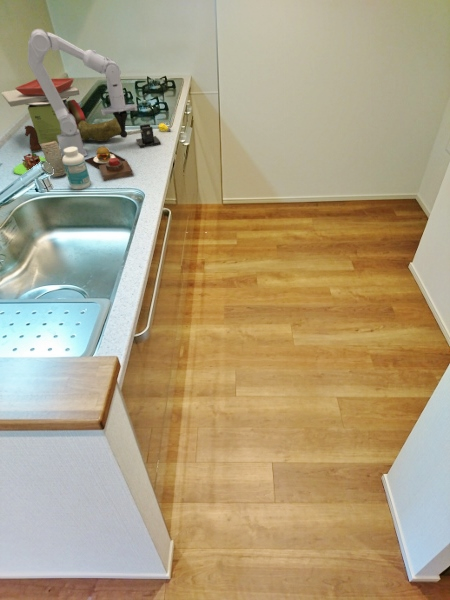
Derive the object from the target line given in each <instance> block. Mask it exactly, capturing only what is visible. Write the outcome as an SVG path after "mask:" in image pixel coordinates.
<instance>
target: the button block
mask: <svg viewBox="0 0 450 600" xmlns="http://www.w3.org/2000/svg"><path fill="white" fill-rule="evenodd" d="M99 169H100V170H99ZM99 169H98V170H99V172H100V174H101V178H102V179H103V182H107V181H112V180H117V179H118V180H119V179H123V178H127V177H133V176H134V172H133V169H132V167H131V166H130V164H129V162H128V160H125V161H121V160H119V164H118V165H114V166H111V165H109V161H108V162H106V164H104V165H99Z"/></svg>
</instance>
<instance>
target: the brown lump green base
mask: <svg viewBox="0 0 450 600" xmlns="http://www.w3.org/2000/svg"><path fill="white" fill-rule="evenodd" d="M21 161H22V162H21V163H19V164H18V165H16V166H15V167H14V168H13V173H14V174H15V175H19V176H22V174H24V173H25V172H27V171H28V170H29V169H31V168H32V167H33V166H35V165H36V164H38V163H39V162H40V161H46V159H45V156H40V155H37V154H36V153H35V152H31V153H28V154H26V155H24V156H23V159H21Z"/></svg>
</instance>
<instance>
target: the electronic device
mask: <svg viewBox="0 0 450 600" xmlns="http://www.w3.org/2000/svg"><path fill="white" fill-rule="evenodd" d="M0 93H1V96H2V97H3V98H4V99H5V101H6V102H7V104H8V105H9V106H10V107H18V106H24V105H25V104H30V103H36V102H41V101H47V100H48V99H47V97H46V95H23V94H22V93H20V92H19V91H18V90H16V89H13V90H8V91H1V92H0ZM80 94H81V93H80V90H79V88H77V87H76V86H74V85H71V86H70V87H69V88H67V89H65V90H63V91H61V92H59V95H60V97H61V98H64V97H69V98H70V97H74V96H79V95H80Z"/></svg>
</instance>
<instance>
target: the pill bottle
mask: <svg viewBox="0 0 450 600" xmlns="http://www.w3.org/2000/svg"><path fill="white" fill-rule="evenodd" d="M64 154H65V156H64V157H63V156H62V157H63V159H62V161H63V164H64V168H65V171H66V173H65V175H66V178H67V181H68V184H69V186H70V187H71V189H72V190H73V189H74V190H84V189H87V188H88V187H90V185H91V183H92V181H91V178H90V174H89V171H88V166H87V162H86V161H85V160H86V159H85V156H83V155H82V154H80V153H78V149H77V147H67V148H65V149H64Z"/></svg>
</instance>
